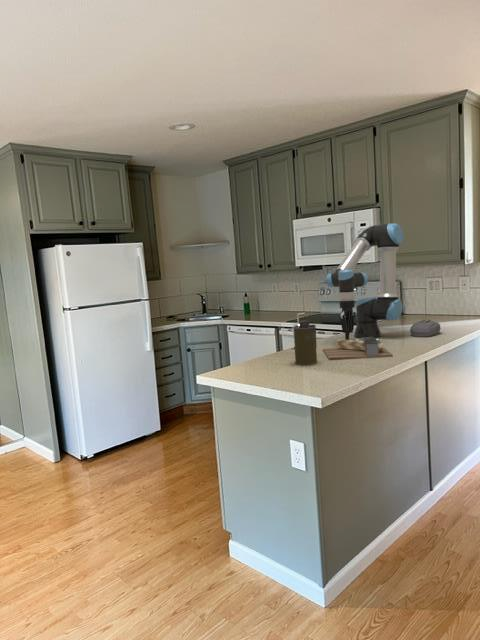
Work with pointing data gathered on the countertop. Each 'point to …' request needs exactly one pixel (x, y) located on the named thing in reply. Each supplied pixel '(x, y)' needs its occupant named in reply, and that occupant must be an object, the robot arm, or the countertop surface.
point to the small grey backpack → (425, 328)
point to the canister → (305, 343)
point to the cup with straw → (298, 321)
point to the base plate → (351, 354)
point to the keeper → (370, 346)
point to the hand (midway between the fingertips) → (348, 345)
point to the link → (355, 345)
